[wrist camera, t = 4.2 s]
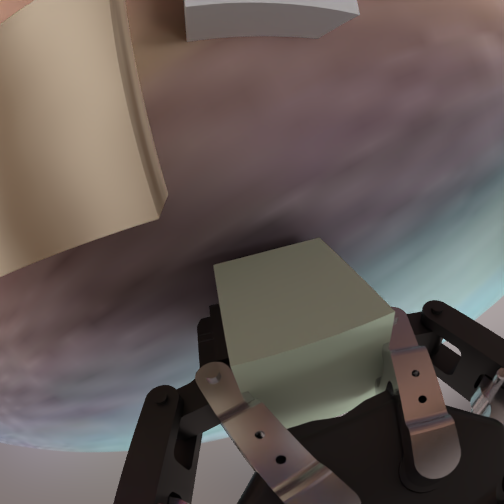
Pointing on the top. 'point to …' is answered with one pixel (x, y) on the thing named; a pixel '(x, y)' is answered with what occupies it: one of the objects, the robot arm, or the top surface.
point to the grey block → (265, 18)
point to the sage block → (302, 331)
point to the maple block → (71, 131)
